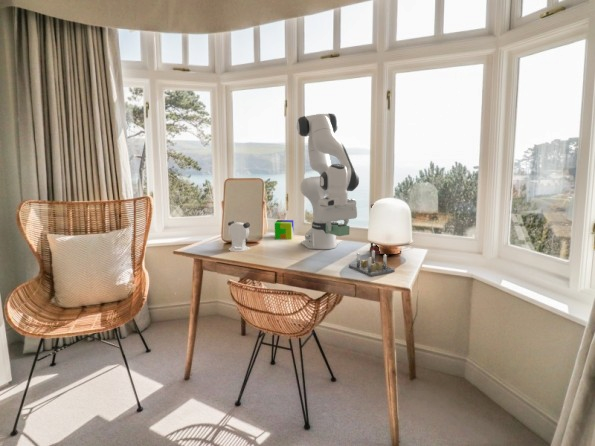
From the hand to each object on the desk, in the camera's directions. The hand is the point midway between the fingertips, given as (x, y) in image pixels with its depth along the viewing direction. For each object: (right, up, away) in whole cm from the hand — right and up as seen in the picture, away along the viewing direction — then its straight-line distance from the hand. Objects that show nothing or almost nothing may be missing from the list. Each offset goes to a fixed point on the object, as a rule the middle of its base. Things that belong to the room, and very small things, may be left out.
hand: (337, 229), depth 180 cm
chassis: (+15, -18, -5) cm, 24 cm away
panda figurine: (-50, -11, +34) cm, 62 cm away
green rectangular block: (0, -2, 0) cm, 2 cm away
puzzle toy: (-27, -6, +61) cm, 66 cm away
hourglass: (+28, -12, +25) cm, 39 cm away
